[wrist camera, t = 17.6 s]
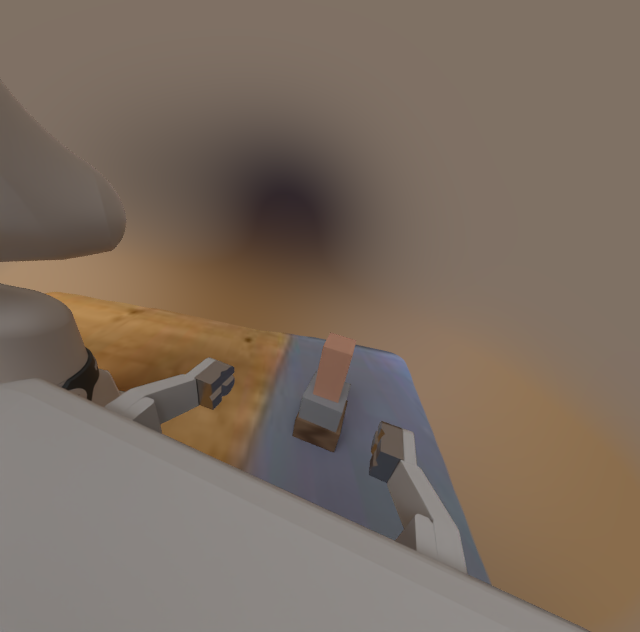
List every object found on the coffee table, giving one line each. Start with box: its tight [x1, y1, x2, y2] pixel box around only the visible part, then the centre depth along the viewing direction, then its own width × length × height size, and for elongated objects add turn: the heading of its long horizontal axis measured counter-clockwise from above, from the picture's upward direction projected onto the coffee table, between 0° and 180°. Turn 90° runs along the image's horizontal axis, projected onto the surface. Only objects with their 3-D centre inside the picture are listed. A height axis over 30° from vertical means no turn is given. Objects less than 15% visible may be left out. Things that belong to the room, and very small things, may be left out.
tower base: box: [293, 400, 347, 452], centre depth 43 cm, size 8×8×5 cm
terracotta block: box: [313, 333, 356, 403], centre depth 38 cm, size 4×4×10 cm
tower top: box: [298, 372, 351, 433], centre depth 41 cm, size 7×7×5 cm
